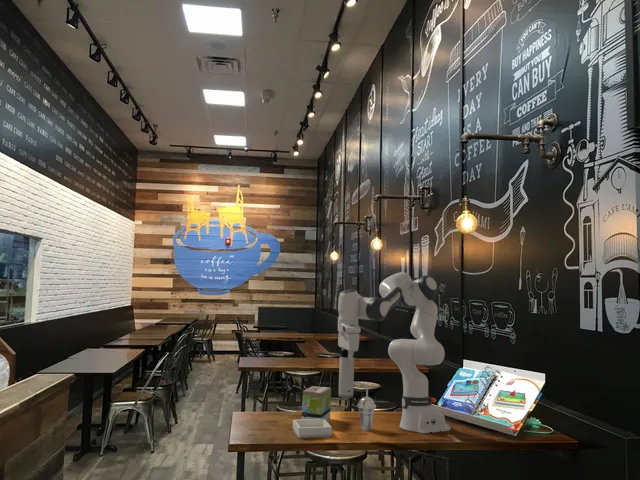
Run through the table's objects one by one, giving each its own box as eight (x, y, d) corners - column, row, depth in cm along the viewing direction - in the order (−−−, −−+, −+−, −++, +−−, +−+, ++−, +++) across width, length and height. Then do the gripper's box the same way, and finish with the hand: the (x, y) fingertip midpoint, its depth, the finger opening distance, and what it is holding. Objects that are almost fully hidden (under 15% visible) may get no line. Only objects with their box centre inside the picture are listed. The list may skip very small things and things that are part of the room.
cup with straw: (367, 433, 217) (367, 385, 219) (351, 428, 224) (352, 382, 226) (379, 429, 223) (380, 383, 225) (364, 425, 230) (365, 380, 232)
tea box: (322, 426, 226) (322, 392, 228) (300, 424, 229) (301, 390, 231) (330, 418, 241) (331, 386, 242) (310, 416, 243) (311, 385, 245)
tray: (324, 428, 223) (324, 418, 224) (331, 437, 210) (331, 427, 210) (292, 429, 220) (292, 419, 221) (298, 438, 207) (298, 428, 207)
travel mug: (352, 398, 212) (354, 350, 214) (337, 397, 213) (338, 349, 215) (354, 395, 218) (356, 348, 220) (339, 394, 219) (341, 347, 222)
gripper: (335, 325, 228) (334, 356, 227) (347, 329, 208) (346, 363, 207) (348, 325, 230) (347, 356, 228) (361, 329, 210) (361, 363, 208)
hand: (347, 359), depth 217 cm, fingers closed on travel mug, 6 cm apart
